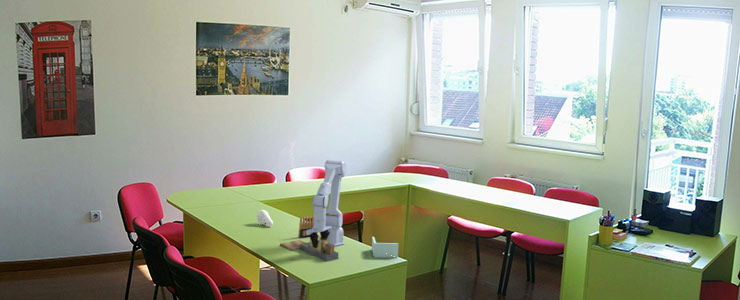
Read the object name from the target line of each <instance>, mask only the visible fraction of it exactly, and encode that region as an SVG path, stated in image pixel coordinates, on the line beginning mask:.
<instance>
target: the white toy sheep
mask: <svg viewBox="0 0 740 300" xmlns="http://www.w3.org/2000/svg"><path fill="white" fill-rule="evenodd" d="M256 218H257V222H258V224H259V225H258V226H260V224H261V225H262V224H264V223H266V224H265V226H266V227H269V228H271V227H272V226H273V224H274V221H273V220H272V218H271V216H270V215H269V212H268V211H267V210H265V209H260V210H258V212H257V214H256Z"/></svg>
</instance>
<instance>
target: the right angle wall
mask: <svg viewBox="0 0 740 300" xmlns="http://www.w3.org/2000/svg"><path fill="white" fill-rule="evenodd" d="M399 245H400V244H399V243H398V242H393V243H391V242H377V241H376V238H375V236H372V237H371V252H373V253H372V256H374V257H373V258H393V256H395V257H394V258H395V259H396V257H398V258H399ZM386 253H387V254H386ZM391 255H392V256H391Z"/></svg>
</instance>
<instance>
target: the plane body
mask: <svg viewBox="0 0 740 300" xmlns="http://www.w3.org/2000/svg"><path fill="white" fill-rule="evenodd" d="M299 251H301V252H304V253H306V254H307V255H311V256H313V257H315V258H318V259H319V260H322V261H325V262H330V261H334V260H338V259H339V252H338V251H335V246H334V245H332V244H330V243H328V244H325V249H322V251H318V250H316V249H313V248H311V247H310V241H309V242H305V243H304V244H300V249H299Z"/></svg>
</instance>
